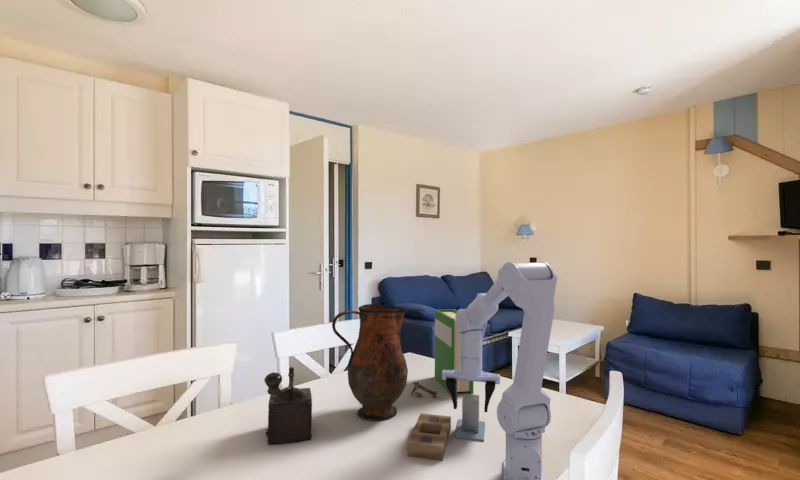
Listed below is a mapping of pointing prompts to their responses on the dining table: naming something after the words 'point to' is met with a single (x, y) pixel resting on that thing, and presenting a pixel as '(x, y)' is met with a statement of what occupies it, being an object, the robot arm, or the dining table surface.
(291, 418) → the manual coffee grinder
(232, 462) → the dining table surface
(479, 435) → the slate mat
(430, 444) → the brown flat rectangular block
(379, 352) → the pitcher
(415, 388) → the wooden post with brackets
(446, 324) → the hardback book
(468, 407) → the steel peg
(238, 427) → the dining table surface
